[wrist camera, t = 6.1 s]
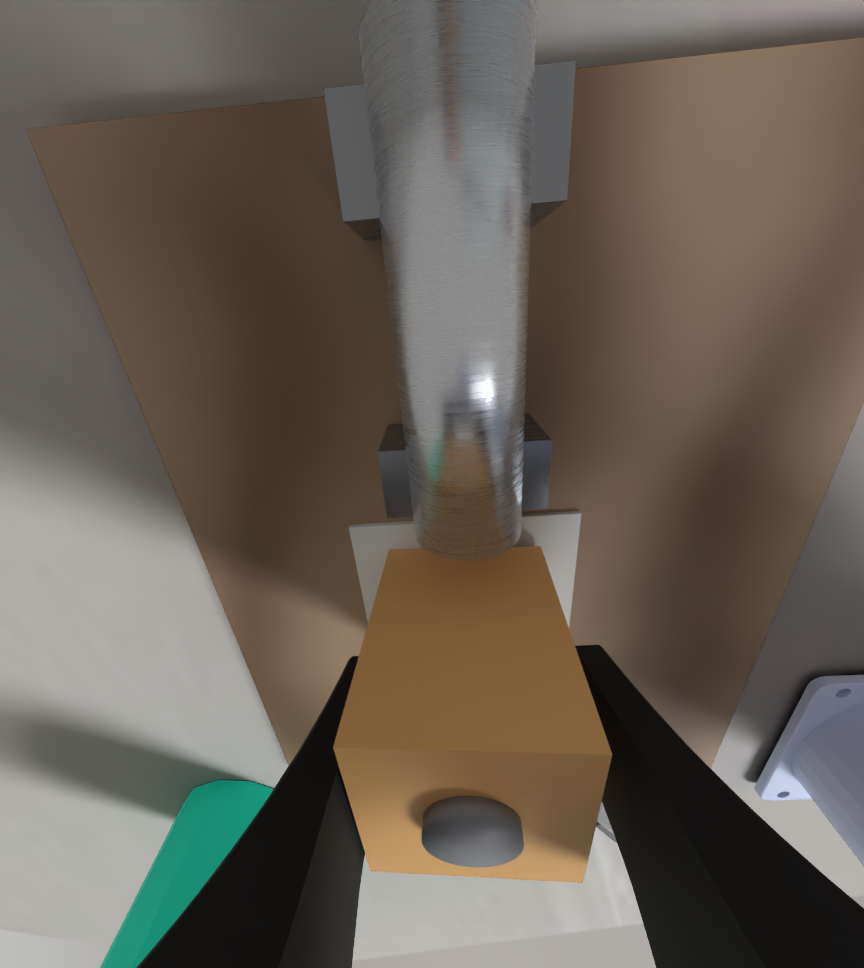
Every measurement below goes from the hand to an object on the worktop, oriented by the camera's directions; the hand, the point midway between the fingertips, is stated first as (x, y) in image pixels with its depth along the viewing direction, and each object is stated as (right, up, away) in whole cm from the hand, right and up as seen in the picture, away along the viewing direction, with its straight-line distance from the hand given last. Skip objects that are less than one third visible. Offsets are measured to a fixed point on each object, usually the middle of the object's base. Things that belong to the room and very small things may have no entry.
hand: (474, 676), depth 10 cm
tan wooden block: (0, +1, +2) cm, 2 cm away
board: (+1, +2, +3) cm, 4 cm away
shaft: (-1, +9, 0) cm, 9 cm away
